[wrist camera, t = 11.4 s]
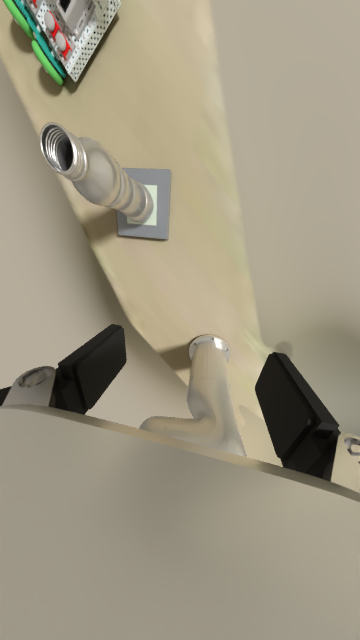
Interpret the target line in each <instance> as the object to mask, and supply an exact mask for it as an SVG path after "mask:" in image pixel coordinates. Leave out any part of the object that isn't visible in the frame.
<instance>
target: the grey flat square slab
mask: <svg viewBox="0 0 360 640" xmlns="http://www.w3.org/2000/svg"><path fill="white" fill-rule="evenodd" d="M122 169H123V170H124V171H125V173H126V174H127V175H128V176H129V177H131V178H132V179H133V180H135V181H137V182H139V183H141V184H143V185H144V186H145V187H146V188H147V189H148V191H149V192H150V194H151V196H152V199H153V203H154V209H153V213H152V215H151V217H150V218H149V219H148V220H147V221H144V222H135V221H133V220H131V219H130V218H128V217H127V216H126V215H125V214H124V213H122V212H121V211H119V210H116V212H117V224H118V235H123V236H134V237H145V238H155V239H166V240H168V234H169V213H170V192H171V171H170V170H169V169H138V168H122Z"/></svg>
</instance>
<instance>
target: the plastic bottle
mask: <svg viewBox="0 0 360 640" xmlns="http://www.w3.org/2000/svg"><path fill="white" fill-rule="evenodd" d="M40 146H41V150H42V154H43V156H44V158H45V160H46V162H47V163H48V164H49V166H50V167H51V168H52V169H53V170H55V171H56V172H57V173H59V174H61V175H63V176H64V177H65V178H67V179H69V180H71V182H72V183H73V185H74V187H75V188H76V190H77V191H78V192H79V193H80V194H81V195H82V196H83V197H84V198H85V199H87V200H88V201H89V202H91V203H93V204H96V205H99V206H104V207H110V208H113V209H116V210H119V211H121V212H122V213H124V214H125V215H126V216H127V217H128V218H130V219H131V220H133V221H135V222H144V221H147V220H148V219H149V218H150V217H151V215H152V213H153V209H154V203H153V199H152V196H151V194H150V192H149V191H148V189H147V188H146V187H145V186H144V185H143V184H141V183H139V182H137V181H135V180H133V179H132V178H131V177H129V176H128V175H127V174H126V173H125V171H124V170H123V169H122V168H121V166H120V165H119V164H118V162H117V161H116V159H115V158H114V157H113V155H112V154H111V153H110V152H109V151H108V149H107V148H106V147H105V146H104V145H102V144H101V143H100V142H98V141H96V140H93V139H91V138H87V137H81V138H77V137H76V136H74V135H73V134H72V133H70V132H68V131H67V130H66V129H65V128H63V127H62V126H61V125H59V124H57V123H54V122H50V123H47V124H45V125H44V126H43V128H42V130H41V133H40Z"/></svg>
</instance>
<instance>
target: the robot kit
mask: <svg viewBox="0 0 360 640" xmlns="http://www.w3.org/2000/svg"><path fill="white" fill-rule="evenodd" d="M111 1H112V4H110V2H111ZM3 2H4V3H5V5H6V6H7V8H8V10H9V11H10V13H11V14H12V15H13V17H14V20H15V21H16V23H17V24H18V25H20V26H21V28H22V29H23V30H24V31H25V33H26V34H27V35H28V36H29V37H30V38H31V39H32V40H33V41H32V48H33V51H34V53H35V54H36V56H37V58H38V59H39V61H40V62H41V64H42V65H43V68H44V69H45V71H46V72H47V73H49V75H50V76H51V77H52V78H53V79H54V80H55V81H56V82H57V83H58V84H59V85H62V84H63V79H62V76H63V77H64V78H65V76H66V74H65V72H64V70H63V69H62V67H61V65H60V64H59V62H58V60H59V61H61V62H62V63H63V65H64V67H65V69H66V70H67V72H68V74H69V75H70V76H71V78H72V79H73V80H74V81H75V82H76V81H77V80H78V78H79V76H80V74H81V73H82V71H83V69H84V67H85V66H86V64H87V62H88V61H89V59H90V57H91V55H92V54H93V52H94V50H95V48H96V47H97V45H98V43H99V42H100V40H101V38H102V36H103V35H104V34H103V33H105V31H106V30H107V28H108V26H109V24H110V23H111V21H112V19H113V18H114V16H115V14H116V12H117V11H118V9H119V7H120V6H121V3H120V0H3ZM98 3H99V4H98ZM117 3H118V5H117ZM26 6H27V7H28V9H29V10H30V12H31V13H30V12H29V10H28V9H27V7H26ZM100 6H101V9H100ZM107 8H109V9H108V11H107ZM114 9H115V11H113V10H114ZM93 12H94V13H93ZM104 13H105V17H104V16H103V15H104ZM31 14H32V15H31ZM110 15H111V18H110ZM32 16H33V17H34V18H33V17H32ZM90 18H91V19H90ZM94 18H95V20H94V21H93V19H94ZM34 19H35V20H34ZM97 20H98V22H97ZM100 20H102V22H100ZM35 21H36V22H35ZM64 21H65V23H64ZM107 21H108V23H107ZM36 23H37V24H38V25H37V24H36ZM87 24H88V25H87ZM97 25H98V26H99V27H98V29H97ZM67 27H68V28H69V29H68V28H67ZM100 27H101V28H100ZM104 27H105V28H104ZM103 28H104V29H103ZM84 29H85V31H84ZM43 30H44V32H45V34H46V35H47V37H48V39H49V42H48V43H49V46H50V47H51V48H52V51H51V50H50V49H49V47H48V46H47V43H46V41H45V39H44V37H43V36H42V35H41V31H43ZM87 30H89V31H88V33H87ZM65 31H66V32H65ZM94 31H95V34H94ZM101 32H102V33H101ZM71 33H72V36H71ZM100 33H101V35H100ZM81 35H82V36H81ZM91 36H92V40H91ZM97 38H98V40H97ZM36 39H37V40H38V42H39V43H38V42H36V41H34V40H36ZM68 39H70V40H68ZM75 39H76V42H75V41H74V40H75ZM78 41H79V42H78ZM88 42H89V45H88V44H87V43H88ZM94 43H96V44H95V45H94ZM85 47H86V50H85ZM82 48H83V50H82ZM91 49H92V50H91ZM76 52H77V53H76ZM82 52H83V55H82ZM85 53H86V54H85ZM88 54H89V55H88ZM55 56H56V57H55ZM73 56H74V58H73ZM56 58H57V59H58V60H57V59H56ZM79 58H81V59H80V60H79ZM86 58H87V59H86ZM76 63H78V65H77V64H76ZM83 63H84V65H83ZM74 67H75V70H74V69H73V68H74ZM80 68H81V70H80ZM72 73H73V74H72ZM61 75H62V76H61Z"/></svg>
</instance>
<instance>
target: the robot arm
mask: <svg viewBox="0 0 360 640" xmlns="http://www.w3.org/2000/svg"><path fill="white" fill-rule="evenodd" d="M189 356H190V358H191V360H192V366H191V372H190V378H189V385H188V392H187V403H188V407H189V410H190V412H191V414H192V416H193V417H194V419H185V418H175V417H164V416H154V417H150V418H148V419H146V420H145V421H144V422H143V423H142V424H141V426H140V428H139V429H137V428H134V427H130V426H126V425H122V424H118V423H114V422H110V421H106V420H102V419H98V418H95V417H90V416H87V415H84V414H85V413H86V412H87V411H88V409H91V408H92V407H93V406H94V405H95V403H96V402H97V401H98V399H99V398H100V397H101V395H102V394H103V393H104V391H105V390H106V389H107V388H108V386H109V385H110V383H111V382H112V381H113V379H114V378H115V377H116V375H117V374H118V373H119V372H120V370H121V369H122V367H123V366H124V365H125V363H126V348H125V337H124V329H123V328H122V327H121V326H120V325H115V324H111V325H110V326H109V327H107V328H106V329H104V330H103V331H102V332H100V333H99V334H98V335H96V336H95V337H93V338H92V339H91V340H89V341H88V342H87V343H85V344H84V345H83V346H81V347H80V348H78V349H77V350H76V351H74V352H73V353H72V354H70V355H69V356H68V357H66V358H65V359H63V360H62V361H61V362H59V363H58V366H59V367H58V368H57V369H55V368H54V367H50V366H42V367H38V368H34V369H32V370H29V371H27V372H25V373H24V374H22V375H21V376H19V377H18V378H17V379H16V380H15V382H14V383H13V385H12V386H11V387H7V388H3V389H0V640H360V437H358V436H356V435H353V434H350V433H341V432H340V431H339V430H338V427H339V424H338V423H337V422H336V421H335V419H334V418H333V416H332V415H331V414H330V412H329V411H328V410H327V408H326V407H325V406H324V404H323V403H322V402H321V400H320V399H319V398H318V397H317V395H316V394H315V392H314V391H313V390H312V388H311V387H310V386H309V384H308V383H307V382H306V381H305V379H304V378H303V376H302V375H301V374H300V373H299V371H298V370H297V368H296V367H295V366H294V364H293V363H292V362H291V360H290V359H289V358H288V356H287V355H286V354H283V353H277V352H273V353H272V354H269V356H268V358H267V360H266V362H265V365H264V367H263V369H262V371H261V374H260V376H259V378H258V381H257V383H256V385H255V392H256V395H257V398H258V401H259V404H260V407H261V410H262V413H263V416H264V419H265V422H266V425H267V428H268V431H269V434H270V437H271V440H272V443H273V446H274V449H275V452H276V455H277V457H278V458H280V459H281V461H282V465H283V467H280V466H277V465H273V464H270V463H266V462H262V461H258V460H255V459H251V458H247V455H246V451H245V448H244V445H243V441H242V439H241V435H240V432H239V429H238V425H237V421H236V417H235V413H234V407H233V401H232V395H231V389H230V382H229V376H228V370H227V362H228V361H229V358H230V348H229V346H228V344H227V343H226V342H225V341H224V340H223V339H222V338H220V337H218V336H215V335H203V336H199V337H197V338H196V339H195V340H193V342H192V343H191V345H190V347H189ZM74 412H75V413H74Z"/></svg>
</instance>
